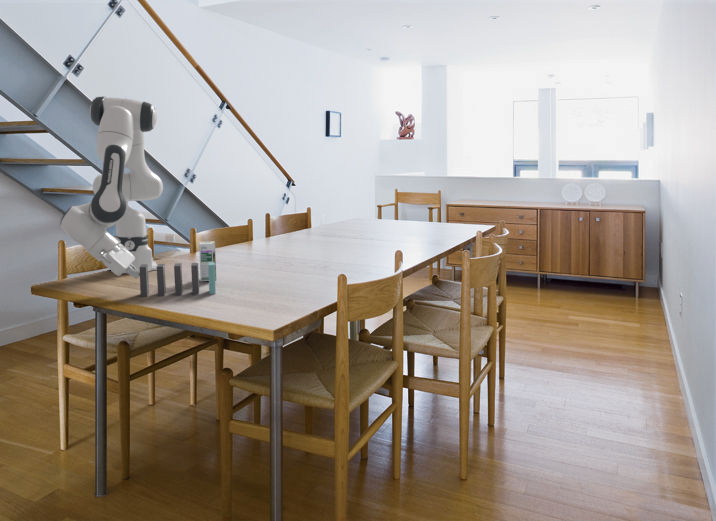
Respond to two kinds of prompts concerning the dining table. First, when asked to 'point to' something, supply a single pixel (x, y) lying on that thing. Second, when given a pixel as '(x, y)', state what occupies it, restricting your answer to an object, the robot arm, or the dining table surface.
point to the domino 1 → (144, 280)
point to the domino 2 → (161, 279)
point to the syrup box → (206, 259)
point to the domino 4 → (195, 278)
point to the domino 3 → (178, 279)
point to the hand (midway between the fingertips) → (138, 276)
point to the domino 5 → (212, 278)
